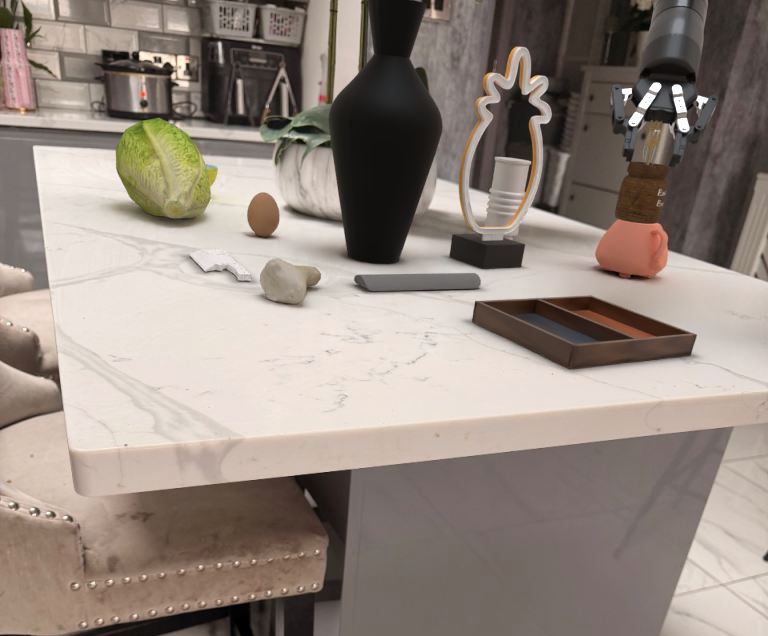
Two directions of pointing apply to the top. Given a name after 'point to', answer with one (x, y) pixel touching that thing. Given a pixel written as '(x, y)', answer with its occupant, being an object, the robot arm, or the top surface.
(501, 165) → the white ribbed cup
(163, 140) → the lettuce
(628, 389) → the top surface
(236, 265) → the white flat piece
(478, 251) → the lamp
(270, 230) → the egg
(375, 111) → the vase
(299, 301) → the stone
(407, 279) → the half round rod
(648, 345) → the sorting tray
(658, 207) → the utensil holder
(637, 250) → the pink rounded pot
